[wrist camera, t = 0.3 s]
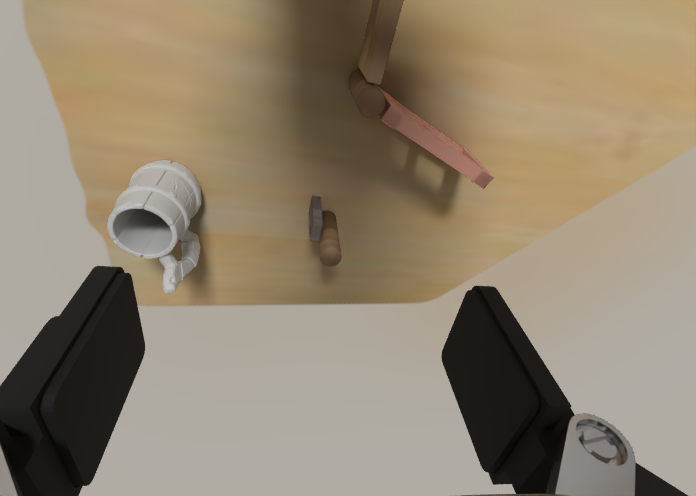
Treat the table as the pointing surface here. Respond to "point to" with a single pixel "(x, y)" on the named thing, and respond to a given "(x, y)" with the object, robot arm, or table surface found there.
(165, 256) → the mug
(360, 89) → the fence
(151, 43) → the table surface
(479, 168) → the gate
